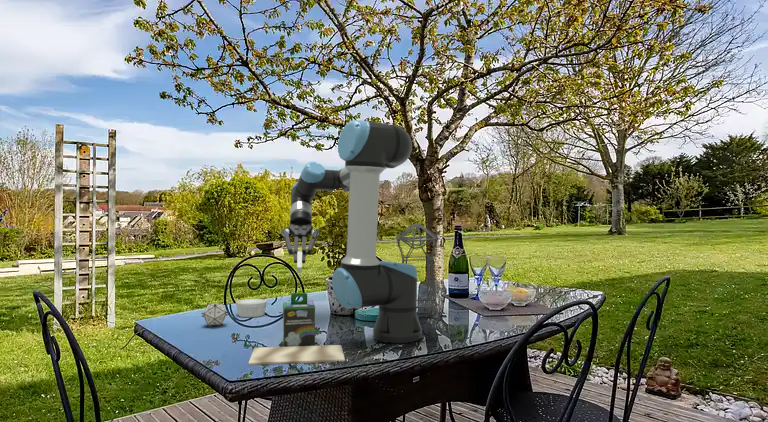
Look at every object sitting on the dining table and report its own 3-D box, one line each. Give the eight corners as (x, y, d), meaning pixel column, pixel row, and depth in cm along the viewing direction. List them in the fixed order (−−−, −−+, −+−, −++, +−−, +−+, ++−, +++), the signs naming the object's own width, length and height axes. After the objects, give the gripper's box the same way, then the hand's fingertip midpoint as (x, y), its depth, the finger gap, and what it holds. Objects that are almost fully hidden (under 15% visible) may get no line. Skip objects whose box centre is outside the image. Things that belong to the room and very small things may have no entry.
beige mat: (341, 346, 138) (341, 344, 138) (344, 361, 124) (344, 359, 124) (254, 349, 134) (254, 347, 134) (248, 364, 120) (248, 362, 120)
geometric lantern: (441, 320, 174) (440, 223, 174) (397, 321, 174) (396, 224, 174) (436, 311, 190) (434, 222, 190) (396, 311, 190) (394, 222, 189)
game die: (217, 338, 160) (217, 318, 154) (195, 327, 161) (195, 307, 156) (233, 320, 167) (234, 300, 161) (212, 310, 169) (212, 290, 163)
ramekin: (238, 312, 185) (239, 298, 185) (268, 312, 186) (268, 298, 186) (232, 318, 173) (233, 303, 174) (264, 318, 175) (264, 303, 175)
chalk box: (313, 338, 147) (314, 289, 147) (315, 346, 138) (316, 294, 138) (282, 339, 145) (282, 290, 145) (282, 348, 136) (283, 295, 136)
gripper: (319, 224, 174) (319, 277, 158) (282, 224, 172) (278, 277, 156) (319, 209, 169) (320, 262, 153) (281, 209, 167) (278, 262, 150)
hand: (299, 269), depth 154 cm, fingers closed
